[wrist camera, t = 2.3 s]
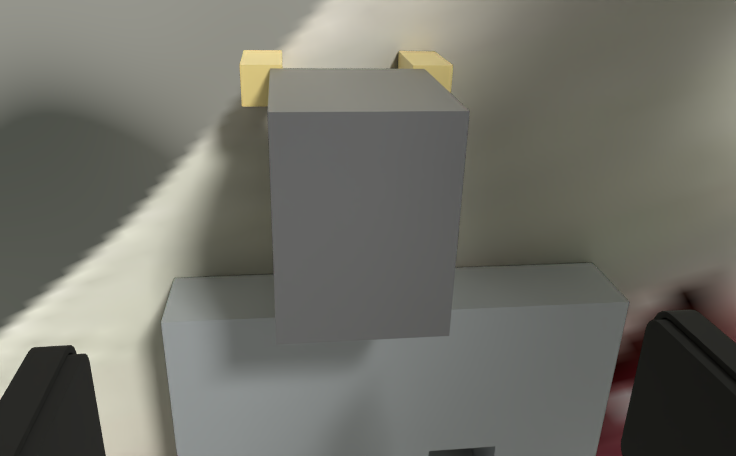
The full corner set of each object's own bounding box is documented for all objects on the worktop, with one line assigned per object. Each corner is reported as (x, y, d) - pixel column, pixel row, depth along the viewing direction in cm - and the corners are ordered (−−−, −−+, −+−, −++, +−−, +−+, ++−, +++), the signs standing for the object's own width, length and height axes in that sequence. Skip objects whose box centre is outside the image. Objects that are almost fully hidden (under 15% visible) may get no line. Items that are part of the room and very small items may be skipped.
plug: (243, 50, 21) (227, 108, 14) (434, 51, 22) (506, 106, 15) (252, 228, 23) (242, 349, 17) (423, 223, 24) (480, 337, 17)
